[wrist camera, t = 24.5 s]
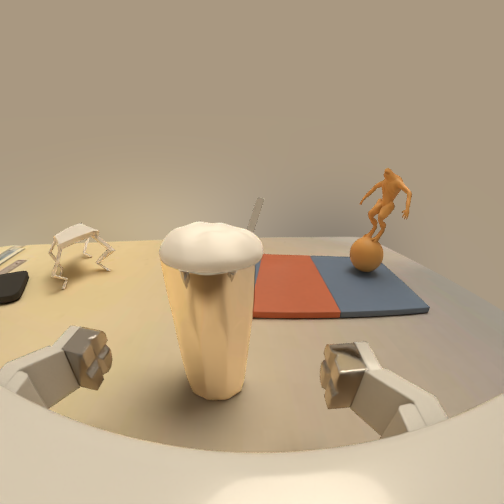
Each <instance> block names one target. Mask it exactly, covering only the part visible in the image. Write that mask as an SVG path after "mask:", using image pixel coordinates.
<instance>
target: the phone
mask: <svg viewBox="0 0 504 504" xmlns="http://www.w3.org/2000/svg"><path fill="white" fill-rule="evenodd" d="M28 278H29V276H28V272H27V271H19V272H13V273H7V274H2V275H0V303H6V302H11V301H15V300H17V299H18V298H19V297H20V296H21V294H22V292H23V290H24V287H25V285H26V283H27V281H28Z"/></svg>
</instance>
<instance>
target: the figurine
mask: <svg viewBox="0 0 504 504" xmlns="http://www.w3.org/2000/svg"><path fill="white" fill-rule="evenodd" d="M384 177H385V179H384V180H383V181H381V182H379V183H377V184H376V185H375V186H374V187H373V188H372V189H371V190H370V191H369V192H368V193H367V194H366V195H365V196H364V197H363V199H362V200H361V202H360V204H362V202H363V201H364V200H365V199H366V198H367V197H368V196H370V195H371V194H372V193H373V192H374V191H375V190H376V189H377V188H379V187H382V192H383V198H382V199H378V201H377V203H376V205H375V206H374V207H373V208H372V209H371V210H370V211H369V212H368V216H369V219H370V221H371V223H372V224H373V228H372V230H371V231H370V232H369V233H368V234H365V235H364V236H363V237H362V238H360V239H358V240H357V241H355V242H354V244H353V245H352V247H351V250H350V259H351V262H352V264H353V265H354V267H355V268H357V269H358V270H360V271H363V272H370V271H373V270H375V269H377V268H378V267H379V266H380V264H381V262H382V260H383V249H382V247H381V245H380V243H379V242H378V240H379V239H380V237H381V235H382V234H383V233H384V230H385V228H386V224H385V222H383V220H384V219H385V218H386V217H388V215H389V214H391V212H392V211H393V210H394V207H395V206H394V203H393V200H394V199H395V197H396V196H397V195H398V193H399V192H400V190H401V189H402V190H403V191H404V192H405V193H406V194H407V201H406V210H404V211H402V213H403V212H404V214H403V216H404V215H405V218H406V216H407V217H408V214H409V207H410V202H411V197H412V193H411V191H410V190H409V189H408V188H407V187H406V186H405V184H404V183H403V180H402V178H401V177H400V176H398V175H396V174H394V173H393V172H392V171H391V169H389V168H387V169H385V173H384ZM376 214H379V215H378V221H379V224H380V227H381V230H380V232H379V233H378V234H377V235H376V236H375V237H374V238H372V235H373V233H374V232H375V230H376V228H377V220H376V219H375V218H373V217H374V216H375V215H376ZM403 216H402V217H403ZM405 218H404V219H405Z"/></svg>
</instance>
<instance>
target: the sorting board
mask: <svg viewBox="0 0 504 504" xmlns="http://www.w3.org/2000/svg"><path fill="white" fill-rule="evenodd" d="M429 308H430V307H429V306H428V305H427V304H426V303H425V302H424V301H423V300H422V299H421V298H420V297H419V296H418V295H416V294H415V293H414V292H413V291H412V290H411V289H410V288H409V287H408V286H407V285H406V284H405V283H404V282H402V281H401V280H400V279H399V278H398V277H397V276H396V275H395V274H394V273H393V272H391V271H390V270H389V269H388V268H387V267H386V266H385V265H383V264H382V263H381V264H380V266H379V267H378V268H377V269H375V270H373V271H370V272H363V271H360V270H358V269H357V268H355V267H354V265H353V264H352V262H351V259H350V257H335V256H303V255H271V254H263V256H262V263H261V270H260V276H259V282H258V289H257V295H256V301H255V306H254V311H253V317H254V318H339V317H340V318H342V317H368V316H387V315H402V314H415V313H426V312H428V311H429Z"/></svg>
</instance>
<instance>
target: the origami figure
mask: <svg viewBox="0 0 504 504" xmlns="http://www.w3.org/2000/svg"><path fill="white" fill-rule="evenodd" d="M90 237H92V238H93V239H95V240H96V241H97V242H99V243H100V244H101V245H103V246H104V247H105V248H107V250H106V251H105V252H104V253H103V254H102V256H101V257H100V258H99V259H98V260H97V261H96V262H95V263H97V264H98V265H100V266H101V267H103V268H104V269H106V270H107V271H110V269H108V268H106V267H105V266H103V265H101V264H100V262H102V261H103V260H104V259H105V258H107V257H108V256H109V255H110V254H112V253H113V252H114V251H115V250H114V249H113V248H112V247H111V246H110V245H109V244H107V243H106V242H105V241H104V240H103V239H102V238H100V237H99V230H96V229H93V228H90V227H88V226H86V225H84V224H82V223H79V224H76V225H74V226H71V227H69V228H66V229H64V230H63V231H61V232H60V233H58V234H56V235H54V236H53V239H54V242H53V244H52V246H51V248H50V251H49V255H50V256H51V257H52V258H53V260H54V261H55V265H54V268H53V272H52V275H51V277H54V278H58V279H63V280H65V282H64V284H63V286H62V289H65V287H66V284H67V281H68V278H65V277H61V276H62V272H63V267H62V266H61V264H60V263H59V260H60V256H61V252H62V249H63V248H66V247H68V246H70V245H72V244H74V243H76V242H78V241H81V240H84V239H86V241H85V246H84V251H83V253H84V254H85V255H87V256H89V257H92V256H91V255H89V254H87V253H85V252H86V248H87V245H88V241H89V238H90ZM55 244H57V246H58V254H57V258H55V256H54V255H53V254H52V250H53V248H54V246H55ZM58 265H59V267H60V268H61V272H60V276H58V275H55V274H56V271H57V267H58Z"/></svg>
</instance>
